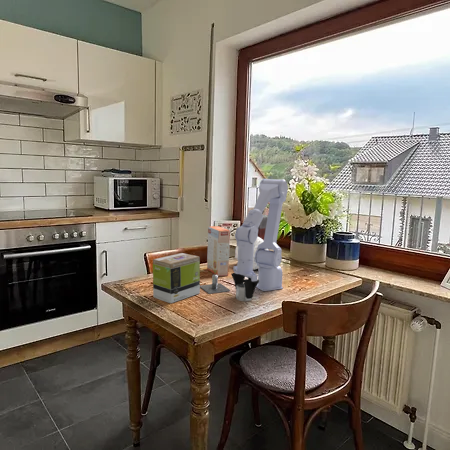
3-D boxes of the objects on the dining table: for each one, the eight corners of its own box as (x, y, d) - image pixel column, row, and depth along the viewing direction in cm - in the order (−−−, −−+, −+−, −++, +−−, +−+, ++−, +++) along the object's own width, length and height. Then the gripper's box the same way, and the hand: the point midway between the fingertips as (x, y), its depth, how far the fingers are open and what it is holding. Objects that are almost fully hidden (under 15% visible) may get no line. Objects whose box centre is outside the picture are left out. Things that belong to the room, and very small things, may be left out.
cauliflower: (223, 247, 181) (245, 224, 178) (245, 259, 192) (266, 237, 189) (240, 273, 166) (264, 248, 163) (262, 285, 178) (285, 261, 174)
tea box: (181, 288, 143) (182, 251, 141) (200, 294, 137) (201, 256, 135) (152, 297, 132) (152, 258, 129) (170, 304, 125) (171, 263, 123)
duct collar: (246, 295, 137) (247, 282, 136) (254, 300, 132) (254, 286, 131) (233, 297, 134) (234, 284, 134) (240, 302, 129) (241, 288, 129)
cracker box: (229, 275, 162) (230, 230, 159) (216, 276, 160) (218, 230, 157) (218, 268, 175) (219, 225, 172) (206, 268, 173) (207, 225, 170)
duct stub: (220, 284, 149) (220, 271, 148) (229, 291, 141) (230, 277, 140) (199, 286, 145) (200, 273, 144) (208, 293, 137) (209, 279, 136)
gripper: (226, 255, 136) (225, 290, 138) (245, 264, 123) (244, 302, 125) (243, 254, 139) (241, 288, 141) (263, 262, 126) (261, 300, 128)
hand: (244, 294), depth 133 cm, fingers open, 7 cm apart
